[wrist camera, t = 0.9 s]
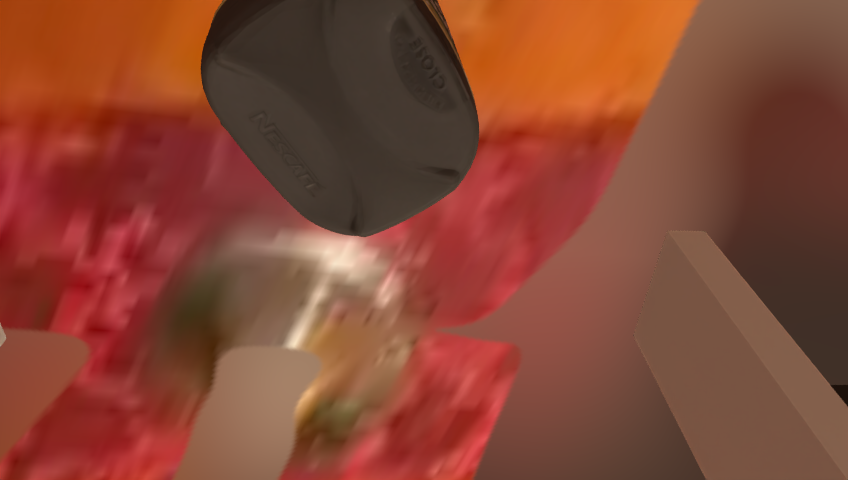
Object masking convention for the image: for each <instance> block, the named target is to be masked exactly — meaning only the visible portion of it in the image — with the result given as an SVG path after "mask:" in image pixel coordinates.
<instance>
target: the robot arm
mask: <svg viewBox="0 0 848 480" xmlns="http://www.w3.org/2000/svg"><path fill="white" fill-rule="evenodd" d="M633 336H634V338H635V340H636V342H637V344H638V346H639V348H640V350H641V352H642V354H643V356H644V358H645V360H646V362H647V364H648V366H649V367H650V370H651V372H652V374H653V376H654V378H655V379H656V381H657V384H658V386H659V388H660V389H661V391H662V393H663V395H664V397H665V399H666V401H667V403H668V405H669V407H670V409H671V411H672V413H673V415H674V417H675V419H676V421H677V423H678V425H679V427H680V429H681V431H682V433H683V435H684V437H685V439H686V441H687V443H688V445H689V447H690V449H691V451H692V453H693V454H694V457H695V458H696V461H697V463H698V464H699V466H700V468H701V470H702V472H703V474H704V476H705V478H706V480H848V385H829V383H828V382H827V381H826V379H825V378H824V377H823V376H822V375H821V373H820V372H819V371H818V370H817V368H816V367H815V366H814V365H813V364H812V363H811V361H810V360H809V359H808V357H807V356H806V355H805V354H804V353H803V351H802V350H801V349H800V348H799V346H798V345H797V344H796V343H795V341H794V340H793V339H792V338H791V336H790V335H789V334H788V333H787V332H786V330H785V329H784V328H783V327H782V326H781V324H780V323H779V322H778V320H777V319H776V318H775V317H774V316H773V314H772V313H771V312H770V311H769V309H767V307H766V306H765V305H764V303H763V302H762V301H761V300H760V298H759V297H758V296H757V295H756V293H755V292H754V291H753V290H752V289H751V287H750V286H749V285H748V284H747V283H746V281H745V280H744V279H743V278H742V276H741V275H740V274H739V273H738V271H737V270H736V269H735V268H734V266H733V265H732V264H731V263H730V262H729V260H728V259H727V258H726V257H725V255H724V254H723V253H722V252H721V250H720V249H719V248H718V247H717V246H716V244H715V243H714V242H713V241H712V240H711V238H710V237H709V236H708V235H707V234H706V232H705V231H667V234H666V237H665V240H664V243H663V246H662V249H661V252H660V255H659V258H658V261H657V265H656V267H655V270H654V273H653V277H652V279H651V283H650V286H649V289H648V292H647V295H646V298H645V301H644V304H643V307H642V310H641V313H640V316H639V319H638V322H637V326H636V328H635V332H634V335H633ZM5 340H6V336H5V333H4V331H3V329H2V326H1V324H0V347H1V345H2V344H3V342H4V341H5Z"/></svg>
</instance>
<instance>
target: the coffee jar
mask: <svg viewBox="0 0 848 480" xmlns="http://www.w3.org/2000/svg"><path fill="white" fill-rule="evenodd" d="M201 77H202V84H203V89H204V92H205V94H206V97H207V100H208V102H209V104H210V106H211V108H212V110H213V111H214V113H215V114H216V116H217V117H218V119H219V120H220V122H221V125H222V126H223V127H224V128H225V129H226V130H227V131H228V132H229V134H230V135H231V136H232V137H233V139H234V140H235V141H236V143H237V144H238V145H239V146H240V148H241V149H242V150H243V151H244V153H245V154H246V155H247V156H248V158H249V159H250V160H251V161H252V163H253V164H254V165H255V166H256V167H257V168H258V170H259V171H260V172H261V173H262V174H263V175H264V176H265V178H266V179H267V180H268V181H269V182H270V183H271V184H272V185H273V186H274V188H275V189H276V190H277V191H278V192H279V193H280V194H281V195H282V196H283V197H284V199H286V200H287V201H288V202H289V203H290V204H291V205H292V206H293V207H294V208H295V209H296V210H297V211H298V212H299V213H300V214H301V215H302V216H304V217H305V218H306V219H308V220H309V221H311V222H313V223H314V224H316V225H318V226H320V227H322V228H325V229H327V230H330V231H332V232H336V233H339V234H344V235H351V236H360V237H367V236H370V235H373V234H376V233H379V232H381V231H384V230H386V229H388V228H390V227H393V226H395V225H397V224H399V223H401V222H403V221H405V220H407V219H409V218H411V217H413V216H414V215H416V214H418V213H420V212H422V211H423V210H425V209H427V208H428V207H430V206H432V205H433V204H435V203H436V202H438V201H440V200H441V199H442V198H444V197H445V196H447V195H448V194H450V193H451V192H452V191H454V190H455V189H456V188H457V187H458V185H459V184H460V183H461V181H462V180H463V179H464V177H465V176H466V174H467V172H468V171H469V169H470V167H471V165H472V163H473V160H474V158H475V155H476V151H477V147H478V141H479V122H478V115H477V110H476V105H475V100H474V96H473V92H472V90H471V87H470V84H469V81H468V79H467V76H466V74H465V71H464V69H463V66H462V63H461V60H460V58H459V55H458V52H457V50H456V47H455V44H454V41H453V38H452V36H451V33H450V30H449V28H448V25H447V22H446V19H445V17H444V15H443V13H442V11H441V8H440V6H439V3H438V1H437V0H223V1H222V3H221V4H220V6H219V7H218V9H217V10H216V12H215V15H214V18H213V21H212V23H211V27H210V30H209V33H208V36H207V38H206V41H205V44H204V47H203V52H202V60H201Z"/></svg>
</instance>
